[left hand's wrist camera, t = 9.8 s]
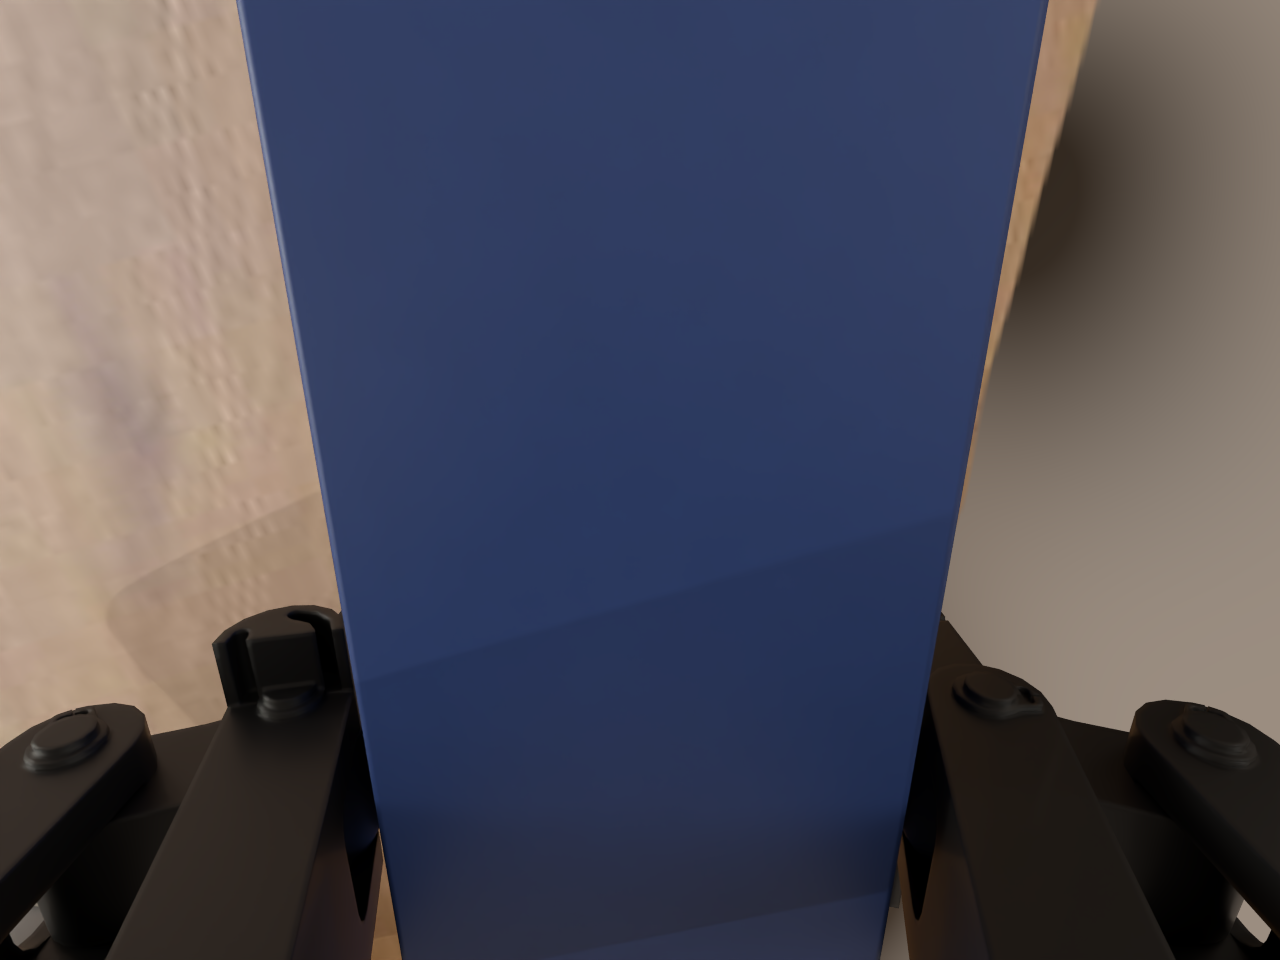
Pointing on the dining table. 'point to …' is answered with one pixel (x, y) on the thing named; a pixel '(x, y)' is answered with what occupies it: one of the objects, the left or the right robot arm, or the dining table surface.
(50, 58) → the dining table surface
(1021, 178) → the dining table surface
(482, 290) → the bar
